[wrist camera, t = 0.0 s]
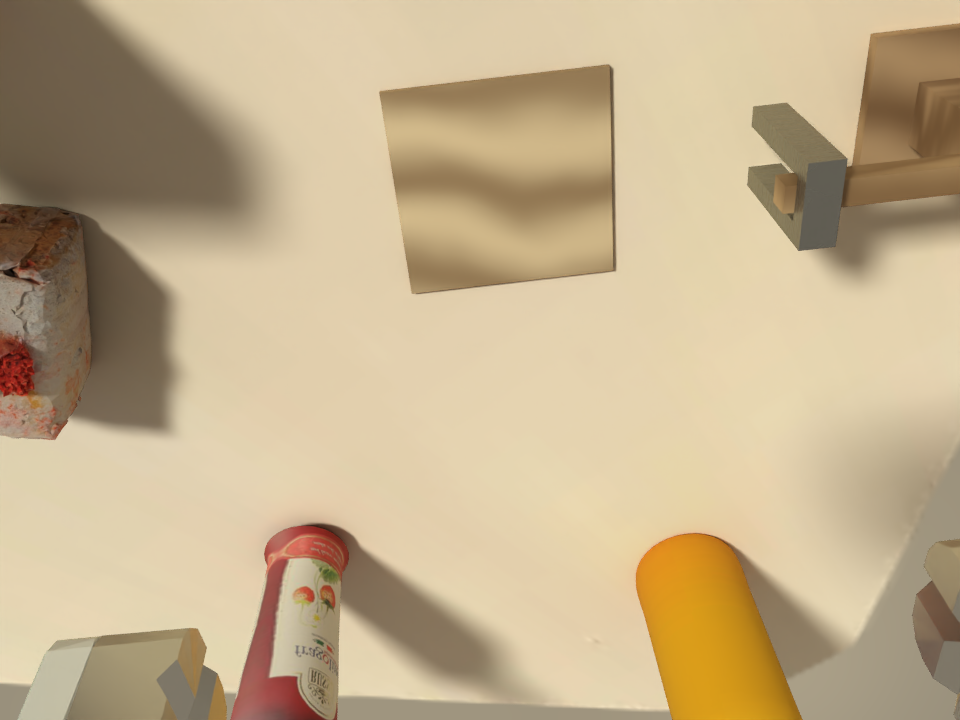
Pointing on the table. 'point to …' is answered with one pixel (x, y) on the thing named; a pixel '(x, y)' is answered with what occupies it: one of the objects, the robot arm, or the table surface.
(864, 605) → the table surface
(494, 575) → the table surface
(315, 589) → the liquor
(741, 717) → the beer bottle
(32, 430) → the food item
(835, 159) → the arch
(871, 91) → the stand
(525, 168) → the mat
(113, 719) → the robot arm
